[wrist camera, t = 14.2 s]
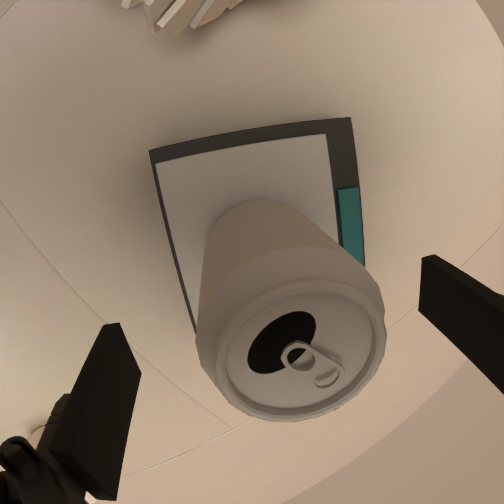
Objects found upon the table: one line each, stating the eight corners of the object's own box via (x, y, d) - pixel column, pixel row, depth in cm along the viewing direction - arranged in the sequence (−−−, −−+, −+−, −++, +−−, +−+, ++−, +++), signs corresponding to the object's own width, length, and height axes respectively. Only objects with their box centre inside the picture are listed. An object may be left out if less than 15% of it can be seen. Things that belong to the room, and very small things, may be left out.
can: (252, 173, 20) (299, 210, 8) (336, 242, 22) (436, 334, 10) (181, 263, 21) (151, 387, 10) (267, 321, 23) (306, 453, 12)
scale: (156, 149, 22) (144, 150, 19) (336, 119, 23) (358, 115, 19) (202, 333, 28) (200, 361, 24) (353, 300, 28) (371, 323, 24)
